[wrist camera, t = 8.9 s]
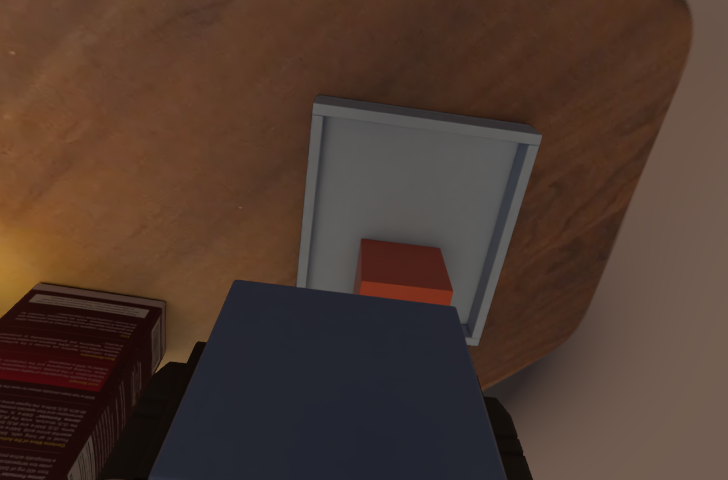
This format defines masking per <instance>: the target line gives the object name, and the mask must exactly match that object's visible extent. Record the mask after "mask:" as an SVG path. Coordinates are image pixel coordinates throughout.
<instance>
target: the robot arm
mask: <svg viewBox="0 0 728 480" xmlns="http://www.w3.org/2000/svg"><path fill="white" fill-rule="evenodd" d="M206 344H207V342H199V341H198V342H197V343H196V344H195V346H194V348H193V351H192V353H191V355H190V357H189V359H188V361H187V363H178V362H168V363H167V364H166V365H165V366H164V367H162V368H161V369H160V370H159V371H158V372H157V373H155V374H154V375H153V376H152V377H151V379H150V380H149V382H148V384H147V386H146V388H145V390H144V392H143V393H142V395H141V399H139V401H138V403H137V405H136V406H135V408H134V410H133V414H132V415H131V416H130V418H129V419H128V421H127V423H126V425H125V427H124V429H123V431H122V433H121V434H120V436H119V438H118V440H117V442H116V444H115V446H114V447H113V449H112V451H111V453H110V455H109V457H108V459H107V460H106V462H105V464H104V466H103V468H102V470H101V472H100V473H99V475H98V477H97V478H96V480H148V477H149V475H150V472H151V470H152V468H153V465H154V463H155V461H156V459H157V456H158V454H159V452H160V449H161V447H162V445H163V442H164V440H165V438H166V436H167V433H168V431H169V429H170V426H171V424H172V422H173V419H174V417H175V415H176V413H177V410H178V408H179V406H180V403H181V401H182V399H183V396H184V394H185V392H186V390H187V387H188V385H189V383H190V380H191V378H192V376H193V373H194V371H195V369H196V367H197V364H198V362H199V360H200V357H201V355H202V353H203V350H204V348H205V346H206ZM476 376H477V375H476ZM477 379H478V377H477ZM478 383H479V380H478ZM479 386H480V383H479ZM480 390H481V387H480ZM481 393H482V390H481ZM482 396H483V393H482ZM483 400H484V403H485V407H486V410H487V413H488V417H489V420H490V423H491V427H492V430H493V434H494V437H495V440H496V444H497V447H498V450H499V454H500V457H501V461H502V464H503V467H504V471H505V474H506V478H507V480H533V478H532V476H531V473H530V470H529V467H528V464H527V461H526V458H525V456H523V450H522V447H521V444H520V441H519V439H517V433H516V430H515V427H514V424H513V421H512V418H511V416H510V414H509V413H508V412H507V411H506V409H505V408H504V407H503V406H502V404H501V403H500V402H499V401H498V400H497V399H496V398H492V397H483Z"/></svg>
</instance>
